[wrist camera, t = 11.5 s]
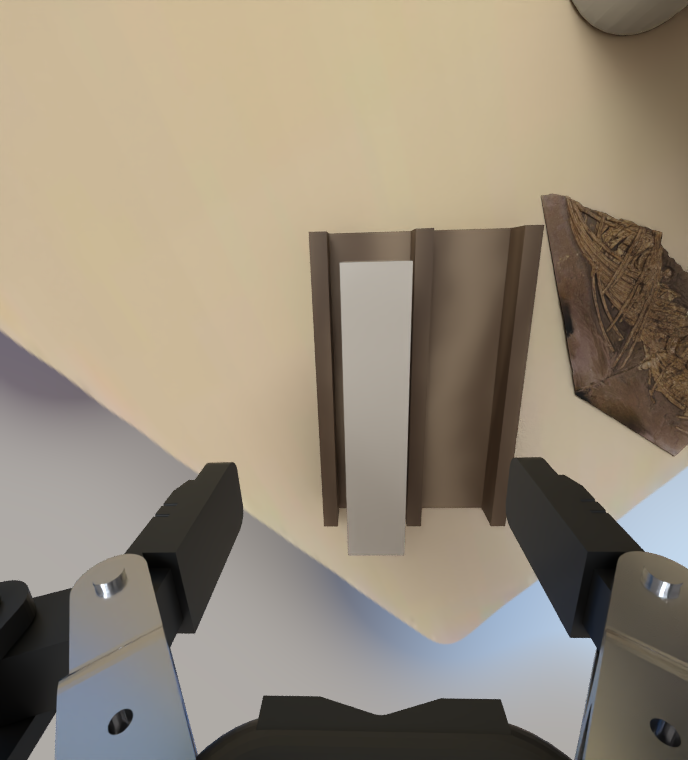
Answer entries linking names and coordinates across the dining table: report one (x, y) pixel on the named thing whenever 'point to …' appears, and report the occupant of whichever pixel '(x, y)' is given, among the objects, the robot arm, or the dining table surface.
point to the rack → (438, 360)
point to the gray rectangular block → (376, 401)
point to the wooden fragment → (623, 319)
